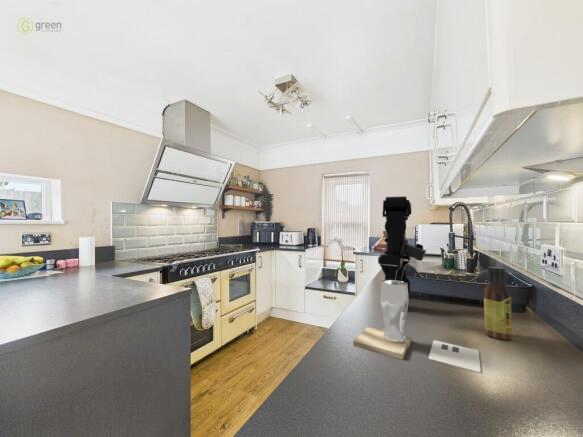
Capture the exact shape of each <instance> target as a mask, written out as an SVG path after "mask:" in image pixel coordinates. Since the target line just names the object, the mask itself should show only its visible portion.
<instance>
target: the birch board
mask: <svg viewBox="0 0 583 437" xmlns="http://www.w3.org/2000/svg"><path fill="white" fill-rule="evenodd" d="M382 333H383V329H380V328H375V327H371V326H367V327H365V329H364V330H363V331H362V332H360V334H359V335H358V336H357V337H356V338H355V339H354V340H353V341H352V342H353V343H352V345H353V346H354V347H357V348H361V349H365V350H367V351H371V352H375V353H379V354H380V355H381V354H382V355H384V356H385V355H386V356H389V357H391V358H396V359H399V360H403V359H404V358H405V355H406V353H407V351H408V349H409V347H410V345H411V343H412V336H410V335H406V341H405V342H403V343H395V342H390V341H388V340H386V339H384V338H383V337H382Z"/></svg>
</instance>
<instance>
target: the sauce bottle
mask: <svg viewBox="0 0 583 437" xmlns="http://www.w3.org/2000/svg"><path fill="white" fill-rule="evenodd" d="M487 273H488V283H487V284H486V285H485V287H484V290H483V295H484V297H483V324H484V325H483V327H484V333H485V334H486V335H487V336H489V337H490V336H491V337H490V338H494V339H499V340H502V339H503V340H505V339H506V340H510V339H512V333H513V330H512V329H513V327H512V326H513V324H512V295H511V293H510V291H509V289H508V287H507V284H506V275H505V274H506V268H505V267H502V266H501V267H500V266H487Z"/></svg>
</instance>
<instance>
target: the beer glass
mask: <svg viewBox="0 0 583 437" xmlns="http://www.w3.org/2000/svg"><path fill="white" fill-rule="evenodd" d="M380 305H381V311H382V316H383V328H382V330H383V333H382V337H383V338H384V339H386V340H388V341H390V342H395V343H403V342H405V341H406V336H407V335H406V328H405V327H406V320H407V319H406V317H407V315H408V314H407V313H408V307H409V293H408V287H407V283H406V282H403V281H398V280H385V279H384V280H381V286H380Z"/></svg>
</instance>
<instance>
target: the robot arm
mask: <svg viewBox="0 0 583 437" xmlns="http://www.w3.org/2000/svg"><path fill="white" fill-rule="evenodd" d="M382 203H383V204H382V218H385V220H386V221H385V223H384V230H385V231H386V234H385V235H386V237H385V238H384V242H385V243H386V245H385V246H386V247H385V249H386V250H385V251H384V253H382V254H380V255H379V256H377V257H378V259H377V264H378V265H379V267H381V270H382V272H383V274H384V280H398V281H403V282H406V283H407V287H408V294H411V281H410V279H409V277H407V272H406V271H407V270H405V267H406V266H407V265H408V264H409V263H410V262H411V261H412V258H413V259H415V260H416V261H419V262H421V261H423V260H424V259H425V255H426V253H427V250H426V249H424V245H423V244H420V243H417V244H415V245H413V244H410V243H409V241H408V239H407V238H406V236H407V235H406V234H407V232H406V230H407V221H408V220H409V217H410V216H411V215H412V203H411V201H410V200H409V199H407V196H406V195H405V196H403V195H402V196H386V197H385V200H383V202H382Z"/></svg>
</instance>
